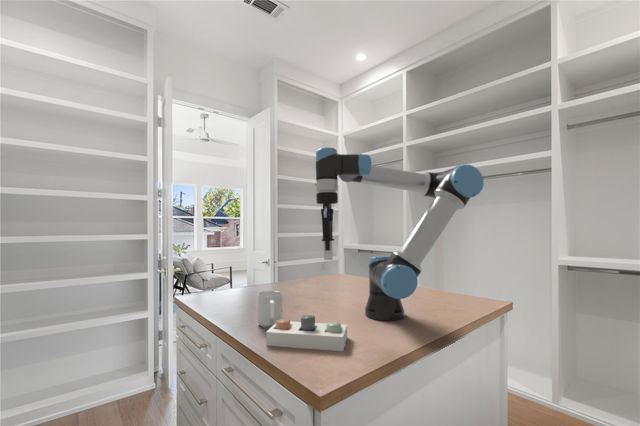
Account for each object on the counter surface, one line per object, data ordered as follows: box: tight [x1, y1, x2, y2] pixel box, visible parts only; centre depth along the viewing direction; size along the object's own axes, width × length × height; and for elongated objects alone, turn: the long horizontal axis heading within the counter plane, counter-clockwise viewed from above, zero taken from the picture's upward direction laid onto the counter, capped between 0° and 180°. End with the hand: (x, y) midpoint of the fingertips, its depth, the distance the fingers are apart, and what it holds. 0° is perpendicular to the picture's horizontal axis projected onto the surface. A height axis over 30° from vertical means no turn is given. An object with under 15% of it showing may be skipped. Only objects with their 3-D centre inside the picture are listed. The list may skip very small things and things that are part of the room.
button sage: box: [326, 321, 342, 333], centre depth 94 cm, size 4×4×4 cm
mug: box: [257, 290, 284, 329], centre depth 110 cm, size 12×9×11 cm
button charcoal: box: [300, 314, 316, 332], centre depth 95 cm, size 4×4×4 cm
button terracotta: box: [276, 318, 291, 330], centre depth 97 cm, size 4×4×4 cm
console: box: [265, 320, 348, 352], centre depth 95 cm, size 23×11×4 cm, turn 79°
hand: (328, 259), depth 108 cm, fingers closed
